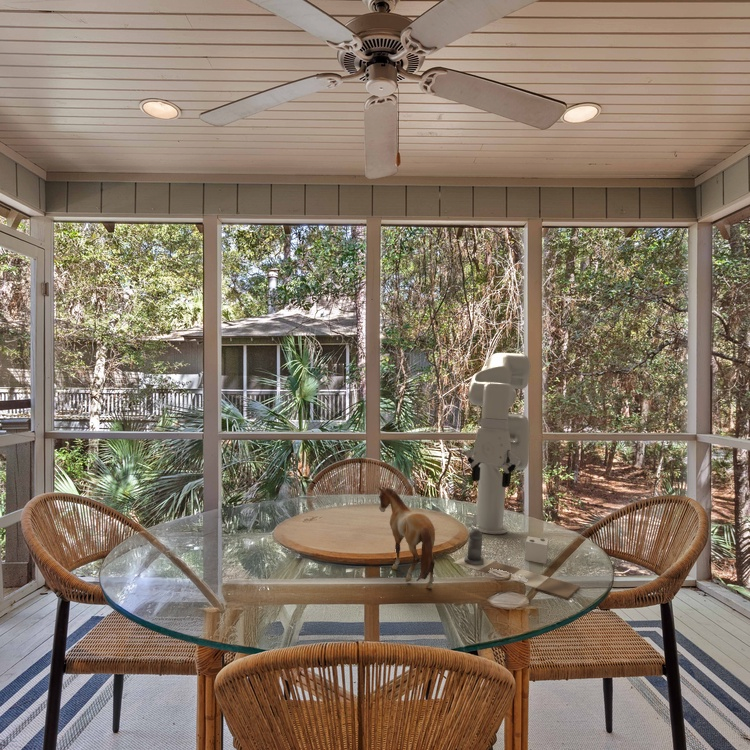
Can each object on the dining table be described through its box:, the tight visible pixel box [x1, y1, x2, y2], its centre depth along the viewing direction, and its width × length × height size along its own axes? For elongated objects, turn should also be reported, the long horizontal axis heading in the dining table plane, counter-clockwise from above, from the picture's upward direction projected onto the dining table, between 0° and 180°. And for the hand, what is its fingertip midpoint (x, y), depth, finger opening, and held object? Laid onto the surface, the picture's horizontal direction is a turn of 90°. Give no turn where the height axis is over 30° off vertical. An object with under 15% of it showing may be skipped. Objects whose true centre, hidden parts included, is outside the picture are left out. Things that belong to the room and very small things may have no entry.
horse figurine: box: [378, 486, 436, 589], centre depth 137 cm, size 31×8×21 cm, turn 20°
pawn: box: [464, 529, 485, 565], centre depth 149 cm, size 5×5×9 cm
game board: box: [452, 556, 580, 601], centre depth 142 cm, size 32×10×1 cm, turn 53°
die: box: [524, 536, 549, 565], centre depth 156 cm, size 6×6×6 cm
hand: (490, 483), depth 151 cm, fingers open, 9 cm apart
